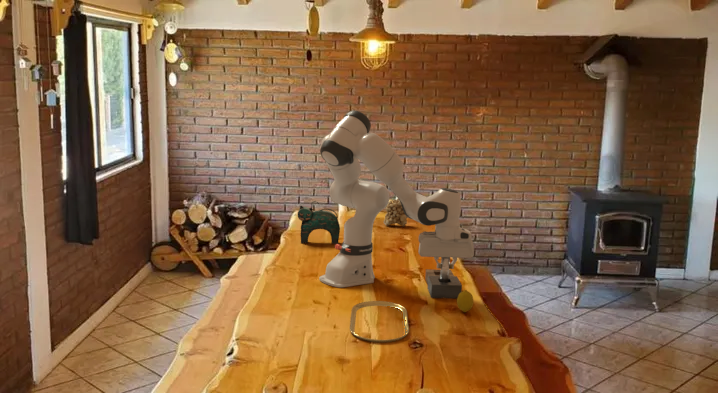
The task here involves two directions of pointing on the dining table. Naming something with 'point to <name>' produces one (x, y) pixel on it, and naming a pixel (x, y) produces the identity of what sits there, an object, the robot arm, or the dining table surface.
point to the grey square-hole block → (444, 287)
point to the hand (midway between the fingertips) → (445, 268)
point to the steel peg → (445, 269)
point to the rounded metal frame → (377, 303)
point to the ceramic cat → (318, 223)
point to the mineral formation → (395, 213)
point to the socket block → (434, 273)
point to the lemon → (465, 301)
